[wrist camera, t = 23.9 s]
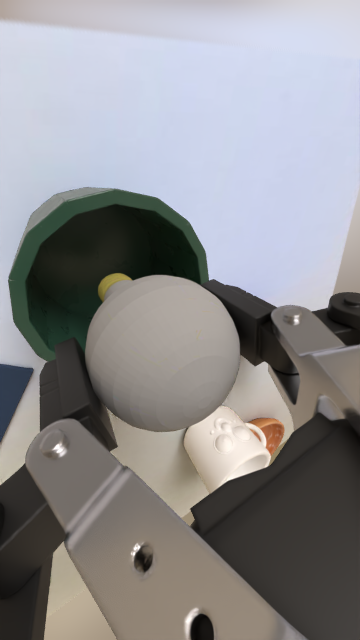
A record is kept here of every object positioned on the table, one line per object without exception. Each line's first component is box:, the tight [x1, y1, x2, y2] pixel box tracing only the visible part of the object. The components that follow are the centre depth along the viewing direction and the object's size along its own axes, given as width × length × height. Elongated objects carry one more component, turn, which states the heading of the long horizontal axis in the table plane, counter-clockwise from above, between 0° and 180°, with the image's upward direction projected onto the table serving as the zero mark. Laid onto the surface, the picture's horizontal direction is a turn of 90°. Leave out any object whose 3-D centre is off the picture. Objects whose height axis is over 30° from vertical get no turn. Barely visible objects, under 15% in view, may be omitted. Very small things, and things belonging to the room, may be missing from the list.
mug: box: [184, 406, 271, 494], centre depth 35 cm, size 12×10×9 cm
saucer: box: [248, 418, 284, 455], centre depth 47 cm, size 16×16×3 cm
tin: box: [8, 187, 209, 362], centre depth 16 cm, size 10×10×8 cm
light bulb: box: [85, 273, 240, 432], centre depth 10 cm, size 6×6×10 cm
